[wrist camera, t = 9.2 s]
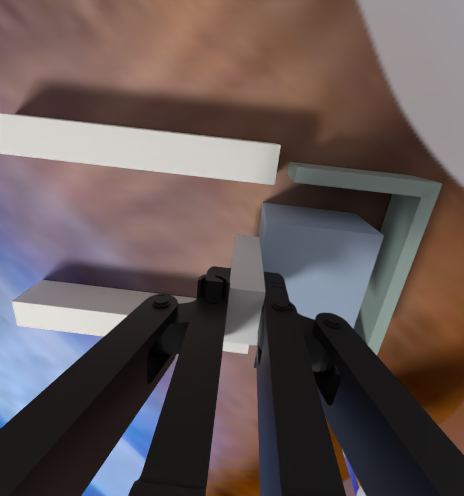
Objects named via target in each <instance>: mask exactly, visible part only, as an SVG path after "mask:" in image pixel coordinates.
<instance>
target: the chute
mask: <svg viewBox="0 0 464 496" xmlns="http://www.w3.org/2000/svg"><path fill="white" fill-rule="evenodd" d="M280 148H281V145H279V144H276V143H268V142H259V141H251V140H242V139H233V138H224V137H215V136H206V135H197V134H189V133H180V132H171V131H162V130H153V129H144V128H135V127H126V126H118V125H109V124H100V123H91V122H82V121H73V120H64V119H56V118H47V117H38V116H29V115H20V114H10V113H0V154H8V155H17V156H25V157H34V158H43V159H51V160H60V161H69V162H78V163H86V164H95V165H104V166H113V167H121V168H130V169H139V170H147V171H156V172H165V173H174V174H182V175H191V176H200V177H208V178H217V179H226V180H235V181H243V182H252V183H261V184H270V185H275V179H276V173H277V167H278V160H279V154H280ZM156 294H158V293H149V292H141V291H133V290H124V289H116V288H108V287H99V286H91V285H83V284H74V283H66V282H58V281H49V280H41V281H40V282H38V283H37V284H36V285H34V286H33V287H31V288H30V289H28V290H27V291H26V292H24V293H23V294H21V295H20V296H19V297H17V298H16V299H14V300H13V301H12V304H13V308H14V313H15V317H16V322H17V326H23V327H31V328H39V329H47V330H56V331H64V332H72V333H80V334H88V335H97V336H105V335H106V334H108V333H109V332H110V331H111V330H112V329H113V328H114V327H115V326H117V325H118V324H119V323H120V322H121V321H122V320H123V319H124V318H125V317H127V316H128V315H129V314H130V313H131V312H132V311H133V310H134V309H136V308H137V307H138V306H139V305H140V304H141V303H142V302H143V301H145V300H146V299H147V298H149V297H150V296H153V295H156ZM171 296H174V295H171ZM174 297H175V298H176V299H177V301H178V304H180V303H189V302H192V301H194V300H196V298H191V297H183V296H174ZM248 348H249V345H247V344H239V343H231V342H223V350H222V351H228V352H236V353H244V354H248Z"/></svg>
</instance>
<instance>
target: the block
mask: <svg viewBox="0 0 464 496" xmlns="http://www.w3.org/2000/svg"><path fill="white" fill-rule="evenodd" d="M258 237H260V244H261V254H262V263H263V272H272V273H279V274H280V275H281V276H282V277H283V278H284V280H285V285H286V289H287V293H288V297H289V301H290V302H291V303H292V304H294V305H295V307H296V309H297V313H299V314H300V315H302V316H305V317H308V318H311V319H314V320H315V318H316V315H318V314H319V313H324V312H325V313H333V314H336V315H338V316H340V317H342V318H343V319H344V320H346V321H347V322H348V323H349V324H350V326H351V327H352V328H354V325H355V322H356V319H357V316H358V313H359V310H360V307H361V304H362V301H363V298H364V295H365V292H366V289H367V286H368V283H369V280H370V277H371V274H372V271H373V268H374V265H375V261H376V258H377V255H378V252H379V249H380V246H381V243H382V240H383V237H384V235H383V234H381V233H380V232H379V231H377V230H376V229H375V228H373V227H372V226H371V225H370V224H368V223H367V222H366V221H364V220H363V219H362V218H360V217H359V216H358V215H356V214H355V213H349V212H341V211H332V210H324V209H315V208H307V207H298V206H290V205H281V204H272V203H264V202H263V205H262V211H261V218H260V225H259V231H258Z"/></svg>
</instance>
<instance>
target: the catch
mask: <svg viewBox="0 0 464 496" xmlns="http://www.w3.org/2000/svg"><path fill="white" fill-rule="evenodd" d="M287 175H288V176H289V177H290V178H291V180H292V181H293V182H294V183H303V184H312V185H321V186H329V187H338V188H347V189H356V190H364V191H373V192H382V193H391V194H392V196H391V199H390V202H389V205H388V208H387V212H386V215H385V218H384V221H383V224H382V227H381V230H380V233H381V234H383V235H384V237H383V240H382V243H381V246H380V249H379V252H378V255H377V258H376V261H375V265H374V268H373V271H372V274H371V277H370V280H369V283H368V286H367V289H366V292H365V295H364V298H363V301H362V304H361V307H360V310H359V313H358V316H357V319H356V322H355V325H354V328H353V329H354V330H355V331H356V332H357V334H358V335H359V336H360V337H361V338H362V339H363V340H364V342H365V343H366V344H367V345H368V346H369V347H370V348H371V350H372V351H373V352H374V353H375V354H376V355H377V354H378V352H379V349H380V346H381V344H382V341H383V338H384V336H385V333H386V331H387V328H388V325H389V323H390V320H391V318H392V315H393V312H394V310H395V307H396V304H397V302H398V299H399V297H400V294H401V291H402V289H403V286H404V284H405V281H406V278H407V276H408V273H409V270H410V268H411V265H412V263H413V260H414V257H415V255H416V252H417V249H418V247H419V244H420V242H421V239H422V236H423V234H424V231H425V229H426V226H427V223H428V221H429V218H430V215H431V213H432V210H433V208H434V205H435V202H436V200H437V197H438V194H439V192H440V189H441V187H442V184H443V183H439V182H435V181H431V180H427V179H424V178H420V177H416V176H412V175H403V174H395V173H386V172H377V171H368V170H359V169H351V168H342V167H333V166H324V165H315V164H307V163H298V162H289V167H288V173H287Z"/></svg>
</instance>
